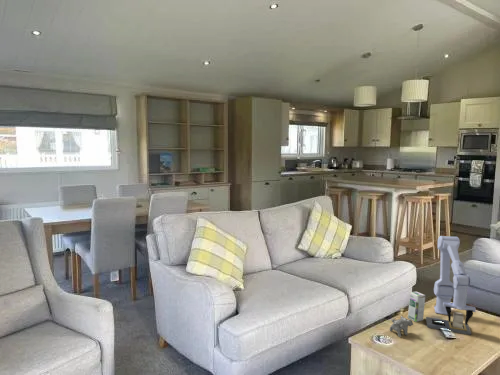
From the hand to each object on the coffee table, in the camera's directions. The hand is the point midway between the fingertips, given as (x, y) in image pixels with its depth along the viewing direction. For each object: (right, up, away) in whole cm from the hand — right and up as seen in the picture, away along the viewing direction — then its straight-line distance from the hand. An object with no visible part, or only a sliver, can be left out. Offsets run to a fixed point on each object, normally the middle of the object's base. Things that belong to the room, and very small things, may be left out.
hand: (457, 322), depth 196 cm
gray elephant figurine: (-31, -4, -5) cm, 32 cm away
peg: (0, -3, 0) cm, 4 cm away
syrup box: (-17, -2, +10) cm, 20 cm away
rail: (-4, -3, +2) cm, 6 cm away
